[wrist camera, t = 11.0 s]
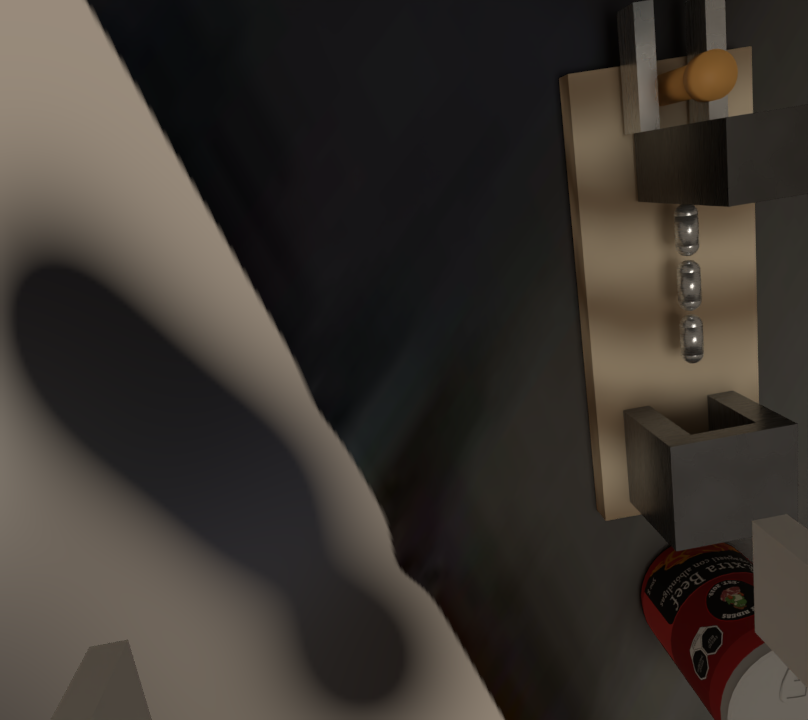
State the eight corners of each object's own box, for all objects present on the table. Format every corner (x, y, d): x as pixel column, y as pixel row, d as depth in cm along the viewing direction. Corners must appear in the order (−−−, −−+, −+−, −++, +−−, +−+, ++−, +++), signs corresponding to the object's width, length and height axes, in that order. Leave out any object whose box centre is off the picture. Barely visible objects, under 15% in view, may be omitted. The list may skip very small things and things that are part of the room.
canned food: (732, 516, 45) (853, 618, 35) (757, 614, 47) (879, 739, 37) (622, 558, 45) (710, 673, 35) (653, 655, 47) (745, 791, 37)
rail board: (558, 78, 37) (567, 74, 36) (735, 51, 38) (751, 46, 37) (596, 509, 44) (605, 520, 43) (746, 481, 45) (760, 491, 43)
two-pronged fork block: (616, 12, 35) (708, -45, 27) (703, -1, 35) (822, -61, 27) (639, 362, 40) (724, 411, 31) (716, 349, 40) (820, 394, 32)
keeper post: (640, 71, 36) (690, 52, 31) (680, 65, 36) (737, 45, 31) (643, 114, 37) (692, 103, 32) (682, 108, 37) (738, 96, 32)
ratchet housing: (622, 410, 41) (670, 447, 35) (732, 390, 41) (797, 423, 36) (629, 501, 42) (676, 551, 37) (735, 481, 43) (798, 528, 37)
